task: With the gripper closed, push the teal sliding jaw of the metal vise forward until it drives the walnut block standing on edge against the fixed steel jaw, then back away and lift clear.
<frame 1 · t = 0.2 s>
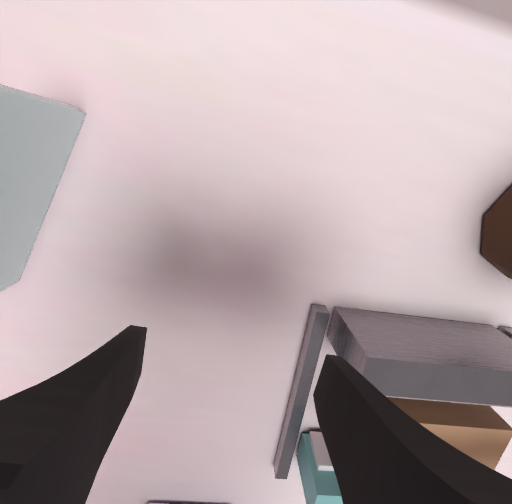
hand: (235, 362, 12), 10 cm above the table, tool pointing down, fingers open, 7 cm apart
vise: (382, 409, 26), on the table
sliding jaw: (384, 474, 25), point 3 cm above the table, slide at 0.0 cm
walnut block: (388, 388, 26), resting in vise
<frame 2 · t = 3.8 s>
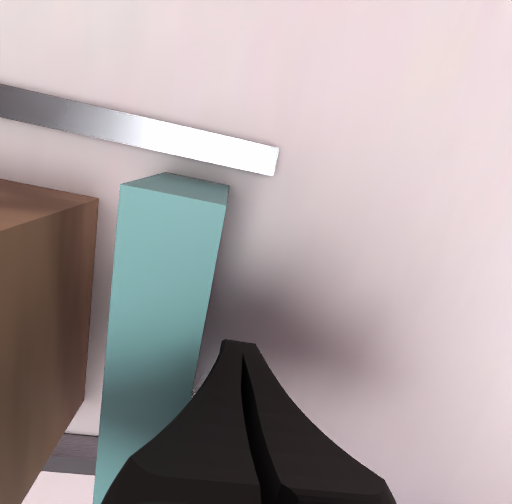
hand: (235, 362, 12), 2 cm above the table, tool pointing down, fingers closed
vise: (78, 307, 14), on the table
sliding jaw: (156, 357, 12), point 3 cm above the table, slide at 0.0 cm, touching gripper
walnut block: (32, 298, 13), resting in vise
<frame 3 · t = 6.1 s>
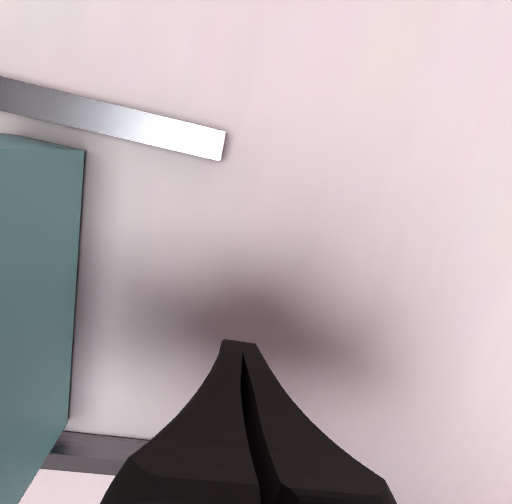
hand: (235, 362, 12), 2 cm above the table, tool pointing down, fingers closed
vise: (27, 295, 13), on the table
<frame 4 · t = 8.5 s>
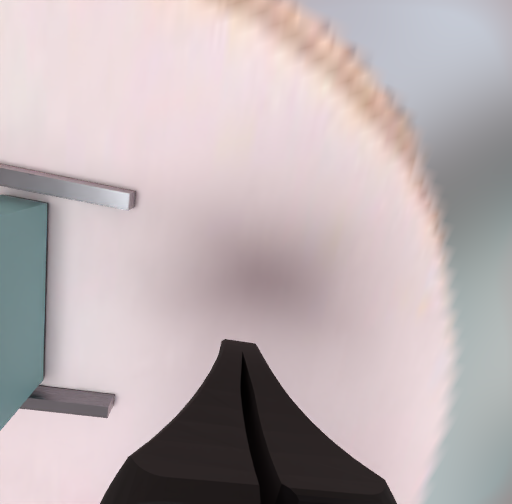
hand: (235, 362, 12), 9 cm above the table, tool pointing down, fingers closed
vise: (14, 293, 20), on the table
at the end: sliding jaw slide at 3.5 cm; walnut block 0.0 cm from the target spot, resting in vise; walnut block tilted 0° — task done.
